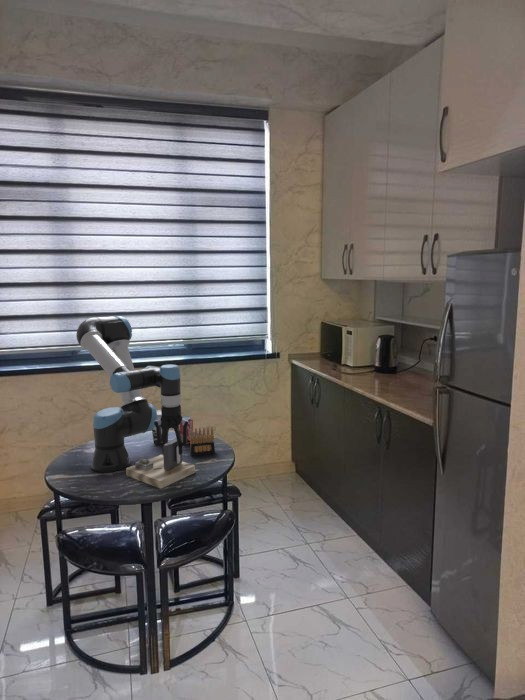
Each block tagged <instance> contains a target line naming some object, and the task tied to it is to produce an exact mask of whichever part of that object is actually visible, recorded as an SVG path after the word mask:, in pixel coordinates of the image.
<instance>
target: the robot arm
mask: <svg viewBox="0 0 525 700" xmlns="http://www.w3.org/2000/svg"><path fill="white" fill-rule="evenodd" d="M132 337H133V329H132V325H131V323H130V321H129V320H128V319H127V318H126V317H124V316H121V315H119V316H118V315H112V316H100V317H99V316H98V317H90V318H86V319H85V320H83V321H82V322H81V323H80V324H79V326H78V328H77V330H76V340H77V343H78V345H79V346H80V347H81V348H82V349H83V350H84V351H87V352H88V353H89V354H90V355H91V356H92V357H93V359H94V360H95V361H96V362H97V363H98V364H99V365H100V366H101V368H102V369H103V370H104V371H105V373H107V375H108V376H109V385H110V387H111V388H110V389H111V391H112V392H114V393H115V394H116V393H117V394H120V397H121V401H122V403H121V405H120V406H119V407H118V406H112V407H107V408H104V409H101V410H99V411H97V412H96V413H95V414H94V415H93V420H92V421H93V424H92V427H93V436H94V438H93V439H94V452H93V456H92V459H91V463H90V464H91V469H92V470H94V471H96V472H102V473H108V472H109V473H111V472H117V471H121V470H123V469H126V468H128V467H129V466H130V463H131V461H130V456H129V453H128V450H127V449H126V446H125V438H129V437H131V436H133V437H134V436H136V435H140V434H145V433H148V432H150V431H151V432H152V429H153V428H154V427H155V426H156V432H157V444H158V445H159V446H161V447H162V449H163V445H164V444H166V443H167V438H168V439H169V431H170V429H173V431H174V432H175V438H177V442H178V446H177V463H179V462H180V455H182V456H183V446H185V447H186V446H187V445H188V444H187V425H188V423H189V420H185V419H183V418H182V417H183V415H182V405H181V403H182V400H181V399H182V398H181V395H182V394H181V372H180V371H181V370H180V366H179V365H177V364H170V363H169V364H163V365H161V366H160V367H159V366H156V365H147V366H145V368H143V369H142V368H141V369H140V368H139V369H136V370H135V367H134V363H133V360H132V356H131V353H130V349H129V345H130V343H131V341H130V340H131V339H132ZM152 387H156V388H157V387H158V388H160V404H161V406H160V408H161V409H160V410H161V413H162V416H161V419H159V420H157V412H156V410H157V409H156V406H155V405H154V404H152V403H149V402H148V399H147V398H145V397H144V396H143V393H142V391H141V389H147V388H148V389H149V388H152ZM161 422H162V423H163V424H164V426H165V431H164V437H163V442H162V436H161ZM181 422H182V424H183V425H184V426H183V442H182V439H181V435H180V425H179V424H180V423H181ZM158 445H157V446H158Z"/></svg>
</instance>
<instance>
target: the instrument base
mask: <svg viewBox="0 0 525 700" xmlns="http://www.w3.org/2000/svg"><path fill="white" fill-rule="evenodd" d="M125 473H126V474H125V476H126V477H129V478H132V479H133V480H137V481H140V482H143V483H145V484H147V485H151V486H153V487H155V488H158V489H163V488H165V487H168V486H170V485H172V484H174V483H176V482H178V481H181V480H182V479H185V478H187V477H189V476H191V475H193V474H195V473H196V465H194V464H193V463H188V462H185V461H183V460H182V463H180V464H179V465H177V466H176V467H174V468H172V469H171V470H164V456H163V454H159V455H157V456H153V457H151V458H149V459H147V458H142V457H141V458H139V460H138V461H136V462H134V465H131V466H127V467H125Z"/></svg>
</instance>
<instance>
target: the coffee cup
mask: <svg viewBox="0 0 525 700" xmlns="http://www.w3.org/2000/svg"><path fill="white" fill-rule="evenodd" d="M156 412H157V420H159V419H161V416H162V413H161V409H158V410H157V409H156ZM164 431H165V426H164V424H163V423H162V422H161V436H162V442H163V437H164ZM151 432H152V439H153V444H155V446H158V444H157V432H156V426H155V427H154V428H153V429H152V430H151ZM168 442H169V437H168V438H167V443H168Z"/></svg>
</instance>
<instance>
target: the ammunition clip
mask: <svg viewBox="0 0 525 700" xmlns="http://www.w3.org/2000/svg"><path fill="white" fill-rule="evenodd" d="M189 445H190V451H189V454H190V456H198V455H208V453H210V454H215V452H216V450H215V448H216V447H215V434H214V427H213V426H211V428H209V427H208V426H207V427H206V429H205V427H203V428H202V430H201V427H199V428H198V429H197V427H195V428H193V429H191V437H190V444H189Z"/></svg>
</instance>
